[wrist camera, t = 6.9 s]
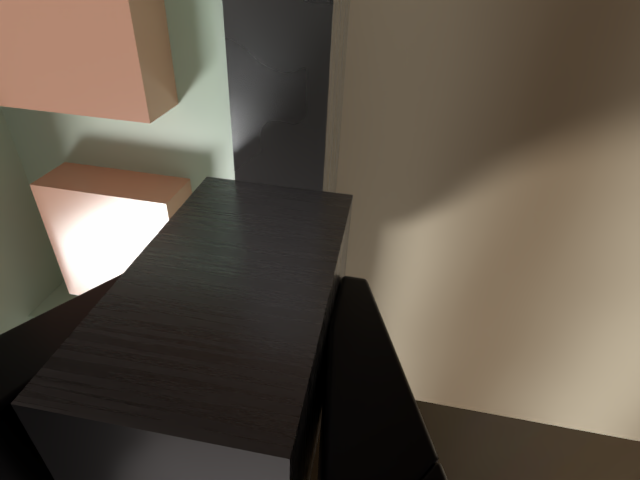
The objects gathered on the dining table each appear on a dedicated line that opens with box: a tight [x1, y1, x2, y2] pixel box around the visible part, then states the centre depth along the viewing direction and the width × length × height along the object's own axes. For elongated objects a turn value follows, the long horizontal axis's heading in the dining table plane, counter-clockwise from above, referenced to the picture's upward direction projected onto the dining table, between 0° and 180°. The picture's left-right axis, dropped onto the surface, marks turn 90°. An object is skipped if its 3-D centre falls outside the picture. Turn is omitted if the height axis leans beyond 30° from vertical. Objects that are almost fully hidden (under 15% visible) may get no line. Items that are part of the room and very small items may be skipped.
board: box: [336, 0, 640, 441], centre depth 10 cm, size 12×14×3 cm
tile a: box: [0, 0, 178, 123], centre depth 10 cm, size 4×4×2 cm
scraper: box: [11, 0, 353, 480], centre depth 7 cm, size 2×11×6 cm, turn 178°
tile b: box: [29, 162, 192, 295], centre depth 14 cm, size 4×4×2 cm
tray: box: [0, 0, 235, 334], centre depth 11 cm, size 8×13×4 cm, turn 178°
